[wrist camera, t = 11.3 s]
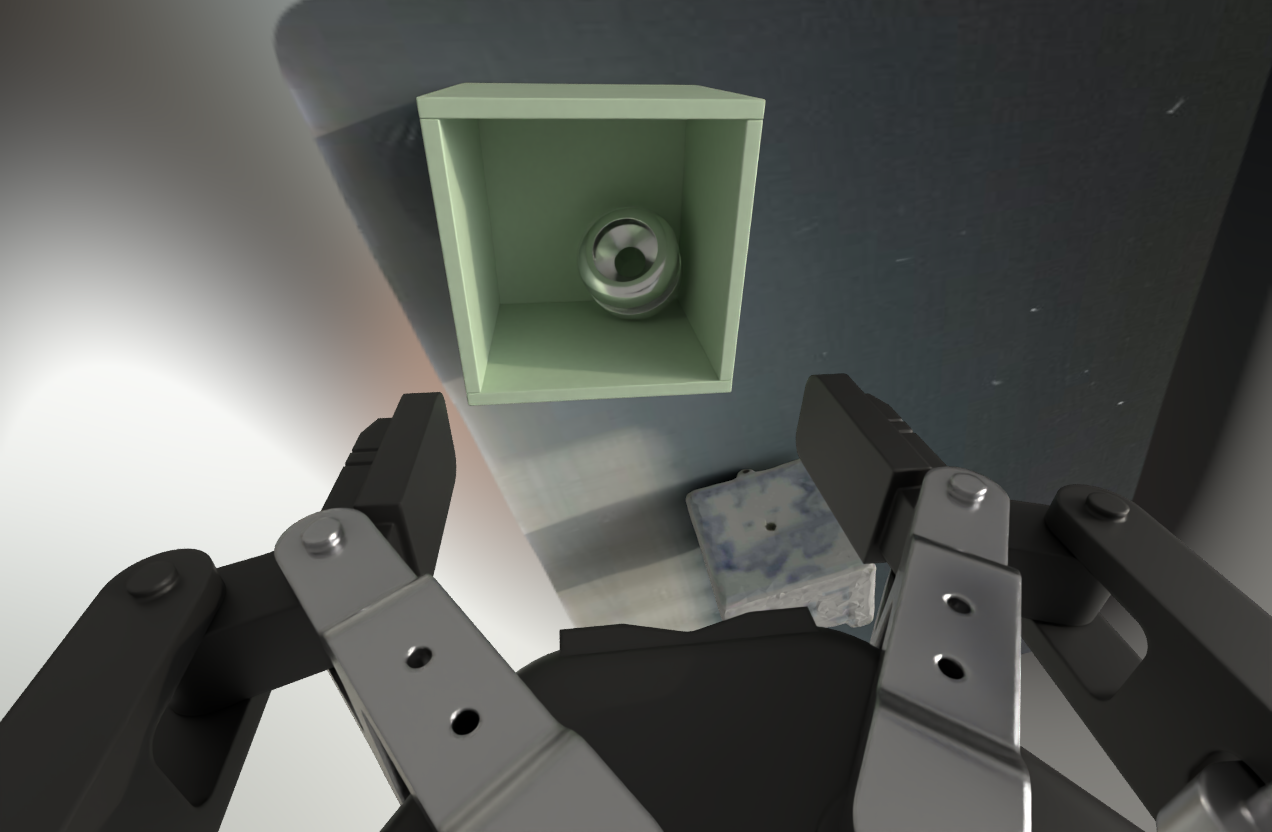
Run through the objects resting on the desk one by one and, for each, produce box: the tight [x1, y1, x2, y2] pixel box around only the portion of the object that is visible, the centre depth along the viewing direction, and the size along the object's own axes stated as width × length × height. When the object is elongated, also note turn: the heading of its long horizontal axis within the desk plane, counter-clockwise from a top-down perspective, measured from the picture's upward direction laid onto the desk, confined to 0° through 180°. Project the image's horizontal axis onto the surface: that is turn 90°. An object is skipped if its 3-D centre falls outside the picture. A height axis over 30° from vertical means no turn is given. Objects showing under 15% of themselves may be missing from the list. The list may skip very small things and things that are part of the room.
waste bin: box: [416, 83, 765, 406], centre depth 26 cm, size 11×11×11 cm
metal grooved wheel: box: [576, 205, 683, 320], centre depth 28 cm, size 5×3×5 cm
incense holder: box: [686, 459, 876, 628], centre depth 39 cm, size 10×8×10 cm
